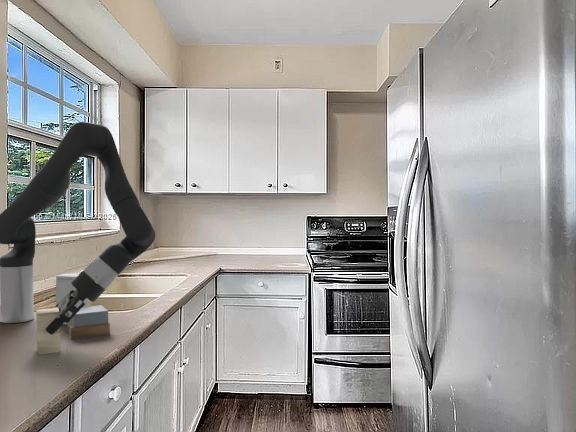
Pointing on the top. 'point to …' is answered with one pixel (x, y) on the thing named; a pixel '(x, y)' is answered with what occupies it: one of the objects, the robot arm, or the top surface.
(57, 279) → the skincare box
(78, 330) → the walnut base block
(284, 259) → the top surface
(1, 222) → the robot arm
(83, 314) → the slate top block
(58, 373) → the top surface
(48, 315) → the birch pillar block
